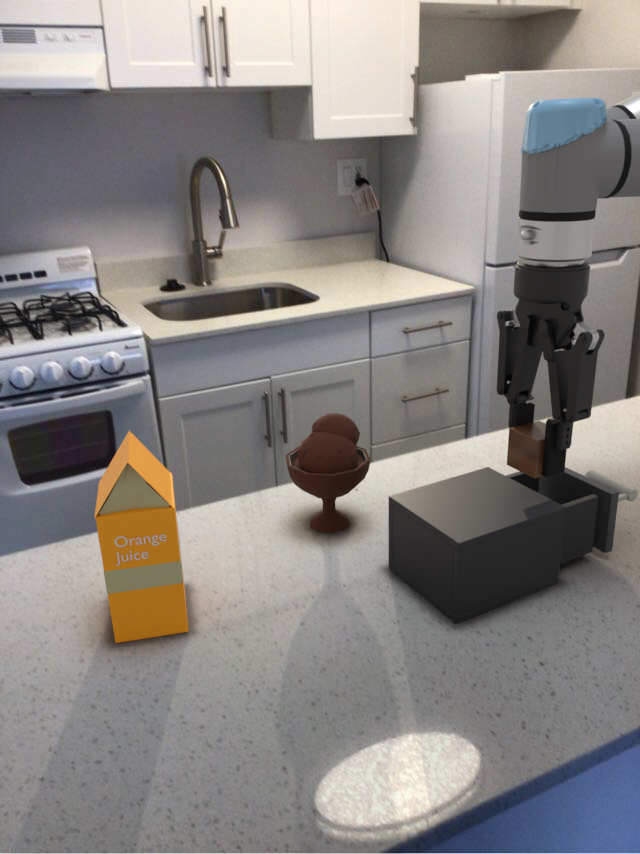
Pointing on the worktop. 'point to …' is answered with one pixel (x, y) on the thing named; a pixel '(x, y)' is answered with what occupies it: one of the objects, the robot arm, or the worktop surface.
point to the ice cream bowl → (329, 467)
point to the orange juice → (140, 545)
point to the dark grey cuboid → (475, 541)
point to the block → (527, 448)
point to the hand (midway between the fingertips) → (536, 464)
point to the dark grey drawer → (582, 507)
